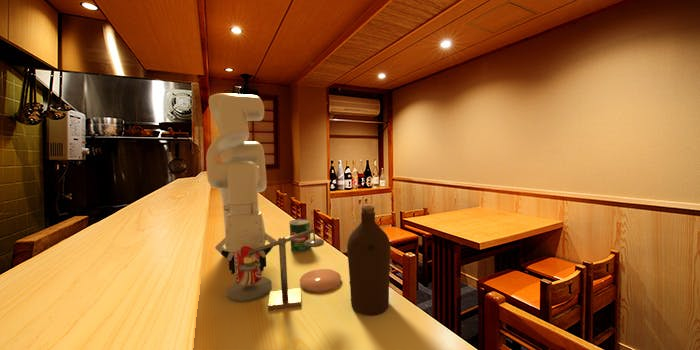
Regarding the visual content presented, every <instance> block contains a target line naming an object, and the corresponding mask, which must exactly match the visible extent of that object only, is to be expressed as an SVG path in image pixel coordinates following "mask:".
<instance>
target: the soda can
mask: <svg viewBox="0 0 700 350" xmlns="http://www.w3.org/2000/svg"><path fill="white" fill-rule="evenodd" d="M243 245H248V244H243ZM250 250H253V249H252V248H250V247H248V246H243V247H241V248H240V249H239V250H238V251H237V252H234V266H235V274H234V276H235V282H237V284H239V285H242V286H251V285H254V284H256V283H257V282H258V281H260V280H261V278H262V277H263V276H262V274H263V273H262V272H263V271H261V270H260V267H259V268H257V269H255V270H252V271H241V270H240V269H239V265H240V264H241V263H243V262H244V257H245V256H247V255H248V251H250ZM251 255H254V256H255V261H259V262H260V257H261V255H260V253H259V252H257V253H254V254H251Z"/></svg>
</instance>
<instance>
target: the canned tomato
mask: <svg viewBox="0 0 700 350" xmlns="http://www.w3.org/2000/svg"><path fill="white" fill-rule="evenodd" d="M308 230H311V221H310V219H306V218H305V219H303V218H297V219H293V220H290V221H289V237H290V236H293V235H296V234H299V233H302V232H305V231H308ZM311 235H312V234H308V235H305V236H302V237H300V238H297V239H294V240H291V241H290V251H291V252H292V251H293V253H297V252H301V253H306V252H309V251H311V249H312V247H307V246H305V241H306V240H309V239H312V238H311ZM305 251H306V252H305Z"/></svg>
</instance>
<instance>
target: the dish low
mask: <svg viewBox="0 0 700 350" xmlns="http://www.w3.org/2000/svg"><path fill="white" fill-rule="evenodd" d="M272 287H273V285H272V280H271V279H270V278H268V277H265V276H262V278H261V280H260V281H258V282H257V283H256V284H254V285H251V286H242V285H239V284H237V282H236V281H234V282H232V283H231V284H229V286H228V287H227V288H226V290H225V291H226V297H227V299H228V300H230V301H232V302H235V303H236V302H237V303H247V302H252V301H256V300H258V299H261V298H263V297H265V296H266V295H268V294H270V292H271V291H272V289H273V288H272ZM270 290H271V291H270ZM267 293H268V294H267Z"/></svg>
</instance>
